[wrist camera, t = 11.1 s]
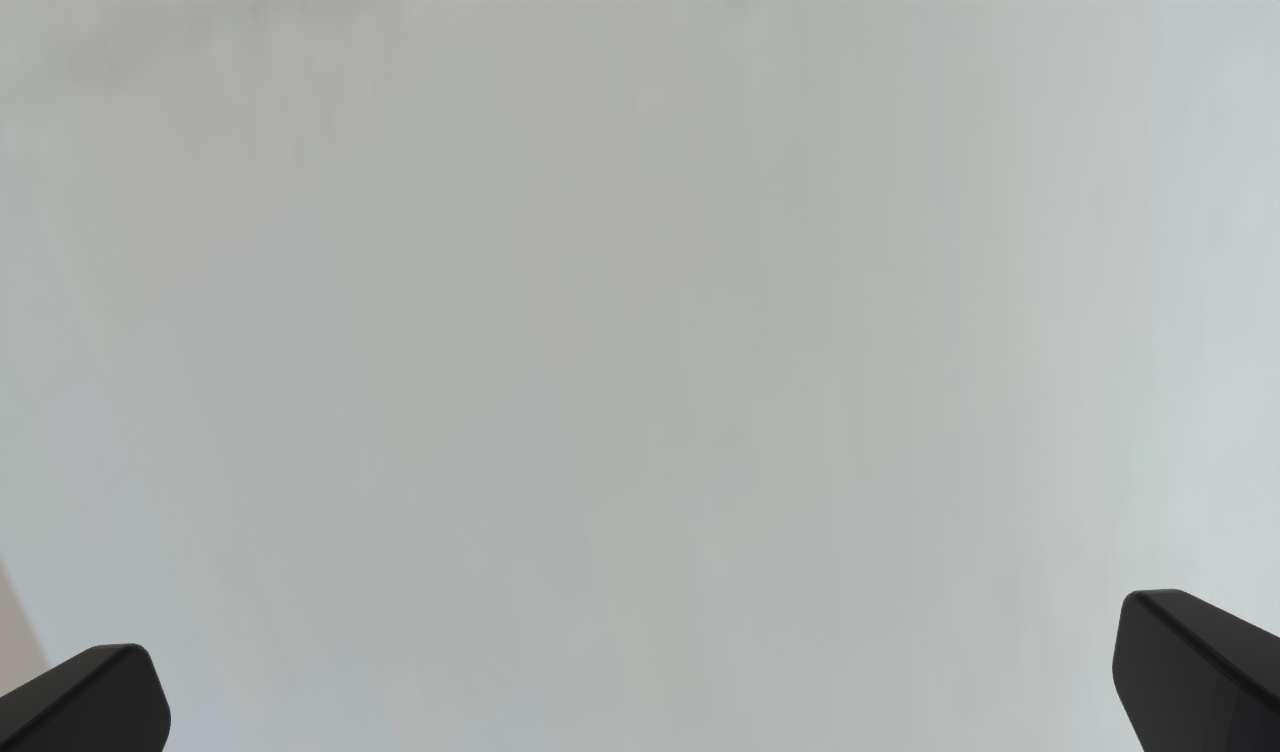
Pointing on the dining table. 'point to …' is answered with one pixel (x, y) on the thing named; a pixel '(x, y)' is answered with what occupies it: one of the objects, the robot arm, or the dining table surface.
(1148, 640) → the robot arm
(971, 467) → the dining table surface
